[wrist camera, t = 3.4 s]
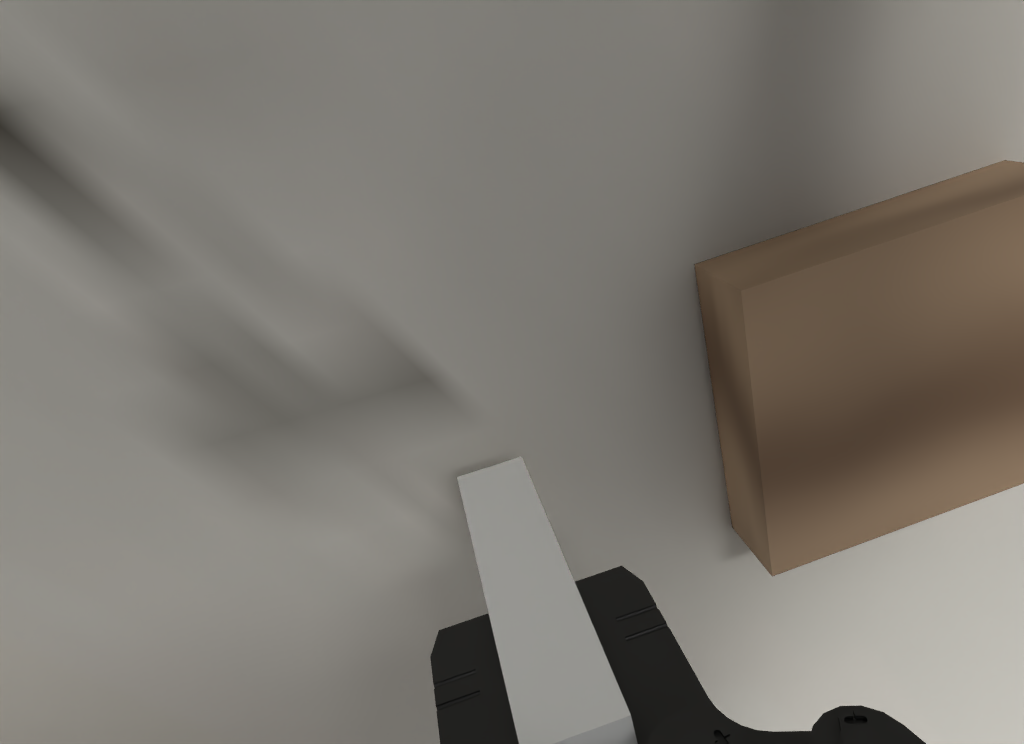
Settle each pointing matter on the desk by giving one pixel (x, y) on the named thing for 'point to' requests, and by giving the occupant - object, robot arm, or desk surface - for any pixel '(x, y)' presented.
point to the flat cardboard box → (870, 366)
